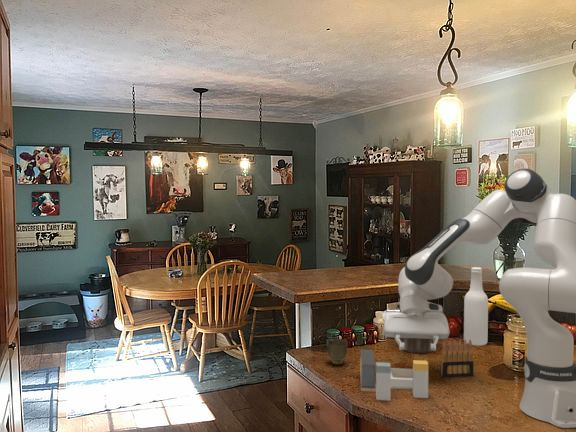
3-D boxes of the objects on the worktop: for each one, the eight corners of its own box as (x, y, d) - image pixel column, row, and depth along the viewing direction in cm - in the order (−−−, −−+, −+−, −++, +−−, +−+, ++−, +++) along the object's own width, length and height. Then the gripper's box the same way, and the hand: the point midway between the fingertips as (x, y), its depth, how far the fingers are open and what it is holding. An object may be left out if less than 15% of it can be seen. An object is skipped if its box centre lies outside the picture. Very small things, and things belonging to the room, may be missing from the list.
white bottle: (464, 345, 191) (465, 269, 189) (463, 338, 199) (463, 265, 198) (488, 347, 188) (490, 269, 187) (486, 340, 197) (487, 266, 195)
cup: (346, 368, 166) (346, 345, 166) (325, 366, 168) (325, 343, 167) (348, 360, 174) (348, 338, 173) (327, 359, 175) (327, 337, 175)
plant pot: (446, 348, 187) (446, 306, 187) (427, 358, 175) (428, 314, 175) (407, 339, 198) (408, 300, 197) (387, 349, 186) (387, 307, 185)
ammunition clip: (442, 378, 157) (442, 341, 157) (439, 375, 159) (440, 339, 159) (473, 376, 159) (474, 340, 158) (471, 374, 160) (471, 338, 160)
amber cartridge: (426, 393, 145) (426, 360, 145) (428, 398, 142) (428, 364, 142) (412, 393, 146) (412, 360, 145) (414, 397, 143) (414, 363, 142)
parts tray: (416, 378, 157) (416, 368, 157) (420, 389, 148) (420, 380, 148) (386, 376, 158) (386, 367, 158) (389, 388, 149) (389, 378, 149)
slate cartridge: (389, 396, 143) (389, 362, 143) (390, 400, 140) (390, 366, 140) (375, 395, 144) (376, 362, 143) (376, 399, 141) (376, 365, 140)
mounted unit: (373, 372, 162) (373, 349, 162) (376, 391, 147) (376, 365, 146) (359, 372, 163) (359, 348, 162) (360, 391, 147) (360, 365, 147)
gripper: (382, 304, 158) (383, 343, 149) (447, 306, 156) (453, 345, 146) (381, 314, 163) (382, 353, 154) (444, 316, 160) (450, 355, 151)
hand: (417, 349), depth 150 cm, fingers open, 8 cm apart
